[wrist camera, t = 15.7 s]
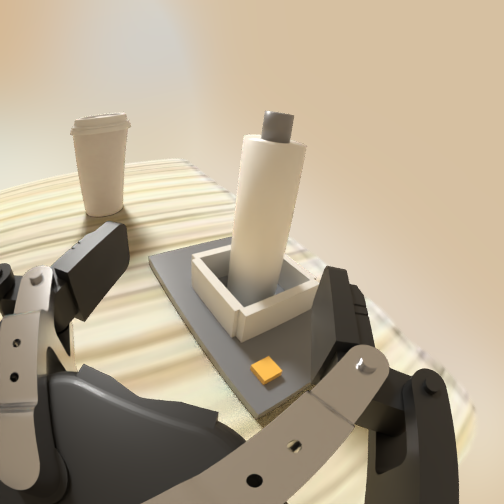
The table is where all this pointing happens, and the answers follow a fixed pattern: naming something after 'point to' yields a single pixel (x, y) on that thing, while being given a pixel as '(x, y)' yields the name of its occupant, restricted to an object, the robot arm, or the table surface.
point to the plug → (264, 208)
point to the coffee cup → (101, 161)
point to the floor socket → (244, 323)
